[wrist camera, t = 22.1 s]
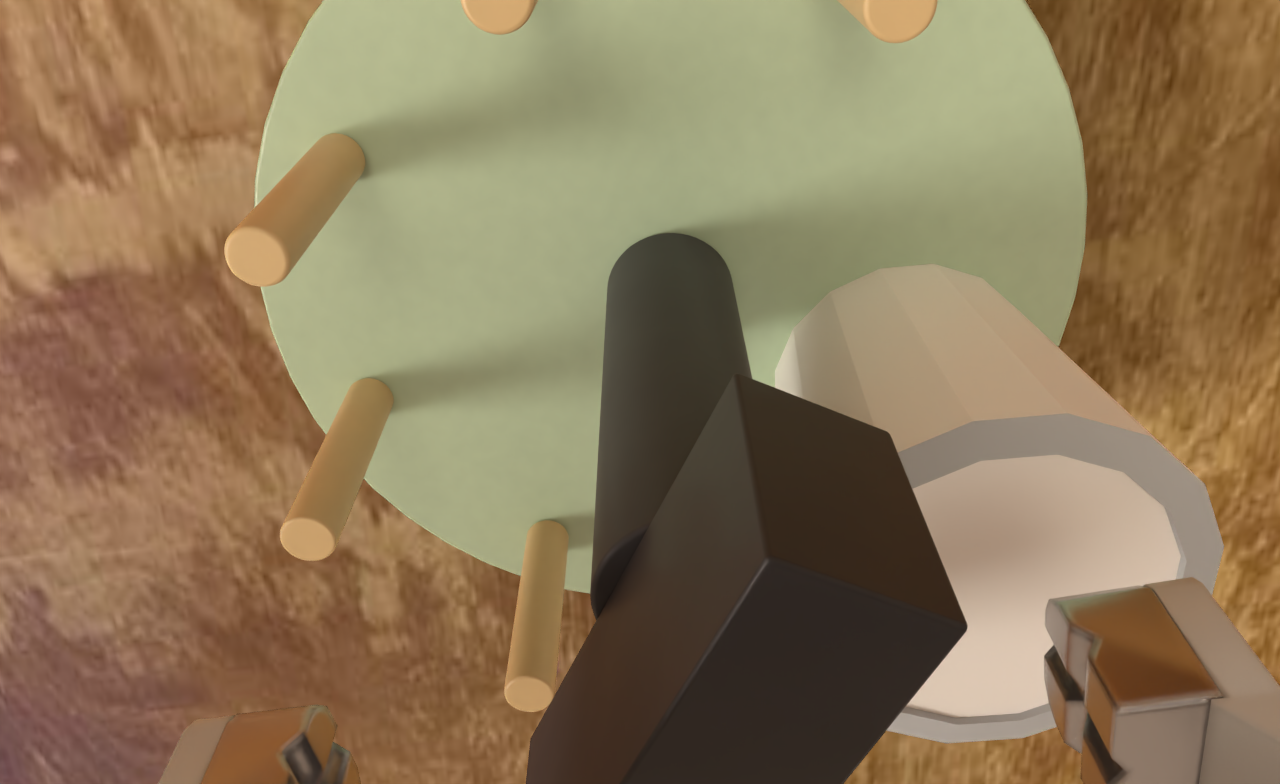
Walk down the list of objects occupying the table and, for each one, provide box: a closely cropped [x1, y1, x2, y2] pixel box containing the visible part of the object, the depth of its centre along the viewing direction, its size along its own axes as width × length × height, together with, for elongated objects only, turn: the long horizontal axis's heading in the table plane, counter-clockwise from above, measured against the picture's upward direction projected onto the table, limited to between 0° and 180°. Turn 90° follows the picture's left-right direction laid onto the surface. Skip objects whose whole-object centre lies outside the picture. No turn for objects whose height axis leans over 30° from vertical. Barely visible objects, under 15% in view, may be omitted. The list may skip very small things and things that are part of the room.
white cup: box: [775, 264, 1224, 743], centre depth 19 cm, size 7×7×7 cm
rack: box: [224, 0, 1087, 784], centre depth 16 cm, size 17×17×13 cm
